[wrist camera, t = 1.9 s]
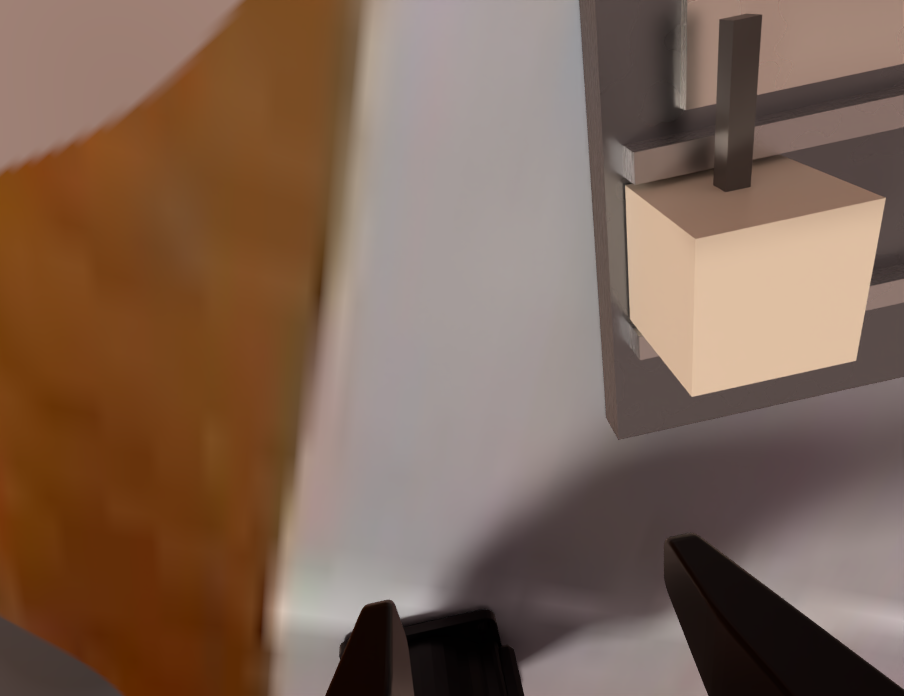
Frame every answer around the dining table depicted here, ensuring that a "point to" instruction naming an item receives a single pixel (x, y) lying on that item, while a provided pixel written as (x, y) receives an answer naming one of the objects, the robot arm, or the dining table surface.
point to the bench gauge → (776, 132)
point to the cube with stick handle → (749, 250)
